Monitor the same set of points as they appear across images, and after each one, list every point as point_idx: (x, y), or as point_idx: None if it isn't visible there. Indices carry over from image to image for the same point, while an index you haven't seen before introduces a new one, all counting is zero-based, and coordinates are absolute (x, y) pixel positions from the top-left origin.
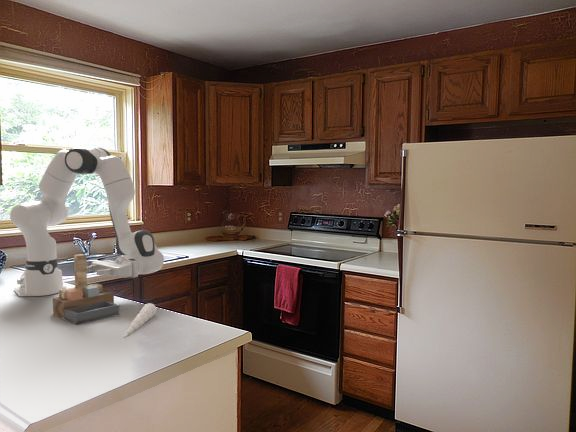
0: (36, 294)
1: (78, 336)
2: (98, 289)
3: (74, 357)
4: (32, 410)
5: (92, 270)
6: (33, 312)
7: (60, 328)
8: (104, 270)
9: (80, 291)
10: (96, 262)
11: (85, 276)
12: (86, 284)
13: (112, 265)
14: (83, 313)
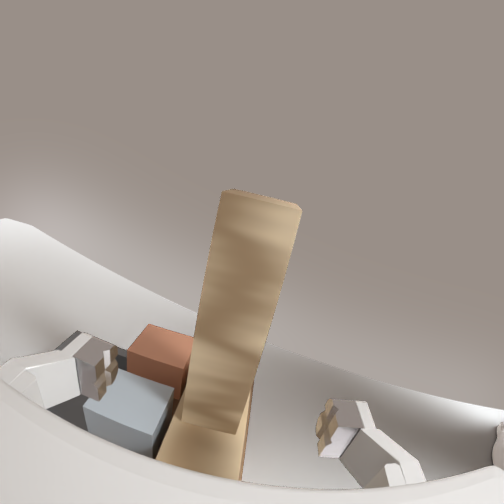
0: (495, 448)
1: (33, 306)
2: (86, 412)
3: (8, 261)
4: (10, 222)
5: (363, 486)
6: (317, 402)
7: (102, 337)
8: (49, 354)
9: (130, 348)
10: (455, 489)
11: (191, 359)
12: (184, 406)
13: (8, 438)
14: (64, 343)
